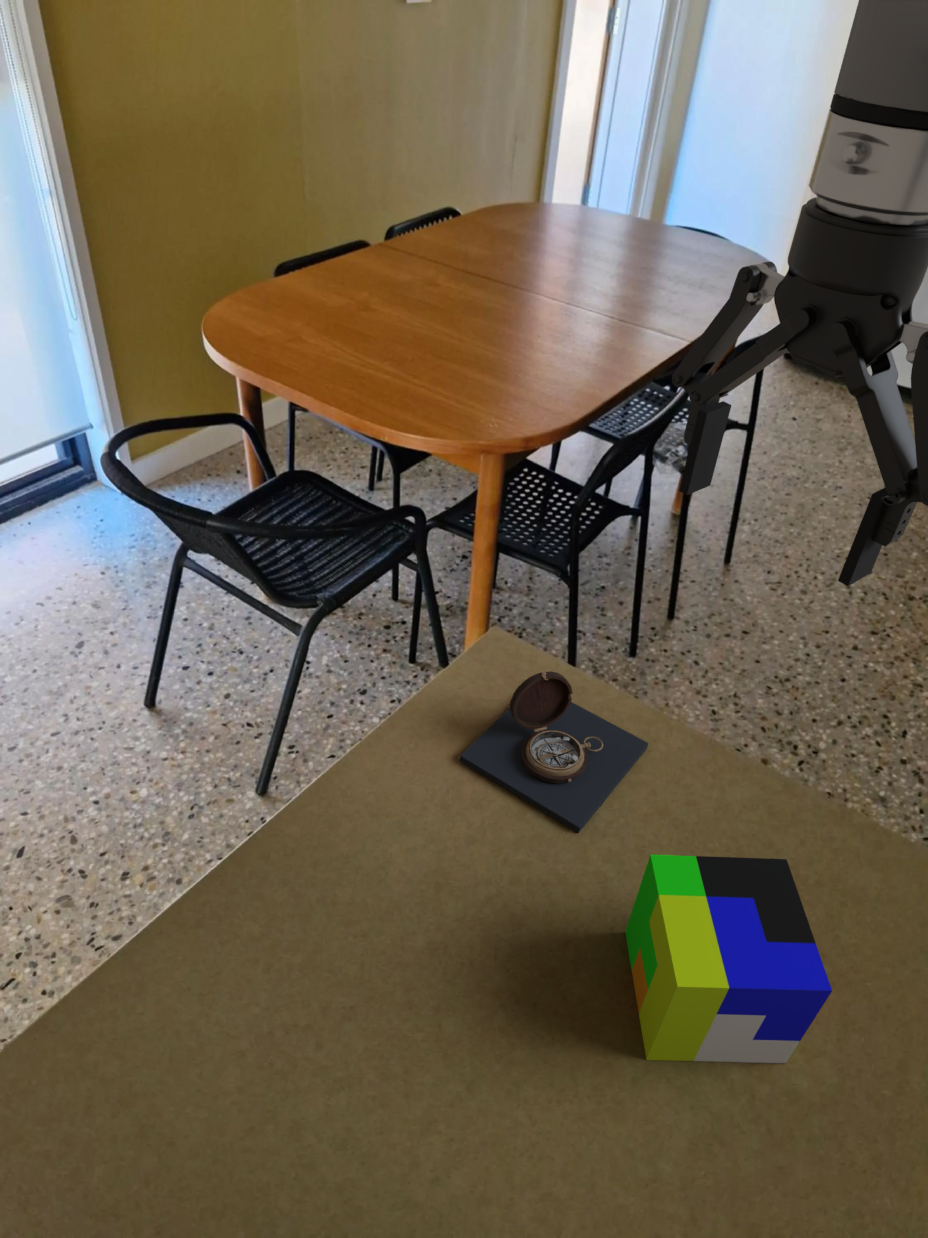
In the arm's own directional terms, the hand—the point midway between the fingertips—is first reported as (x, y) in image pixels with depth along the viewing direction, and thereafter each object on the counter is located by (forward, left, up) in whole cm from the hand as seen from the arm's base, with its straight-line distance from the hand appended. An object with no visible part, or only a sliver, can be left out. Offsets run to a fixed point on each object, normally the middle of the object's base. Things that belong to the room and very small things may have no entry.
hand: (769, 530), depth 62 cm
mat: (+11, +6, -29) cm, 32 cm away
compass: (+10, +6, -29) cm, 31 cm away
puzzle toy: (-14, +13, -30) cm, 35 cm away
